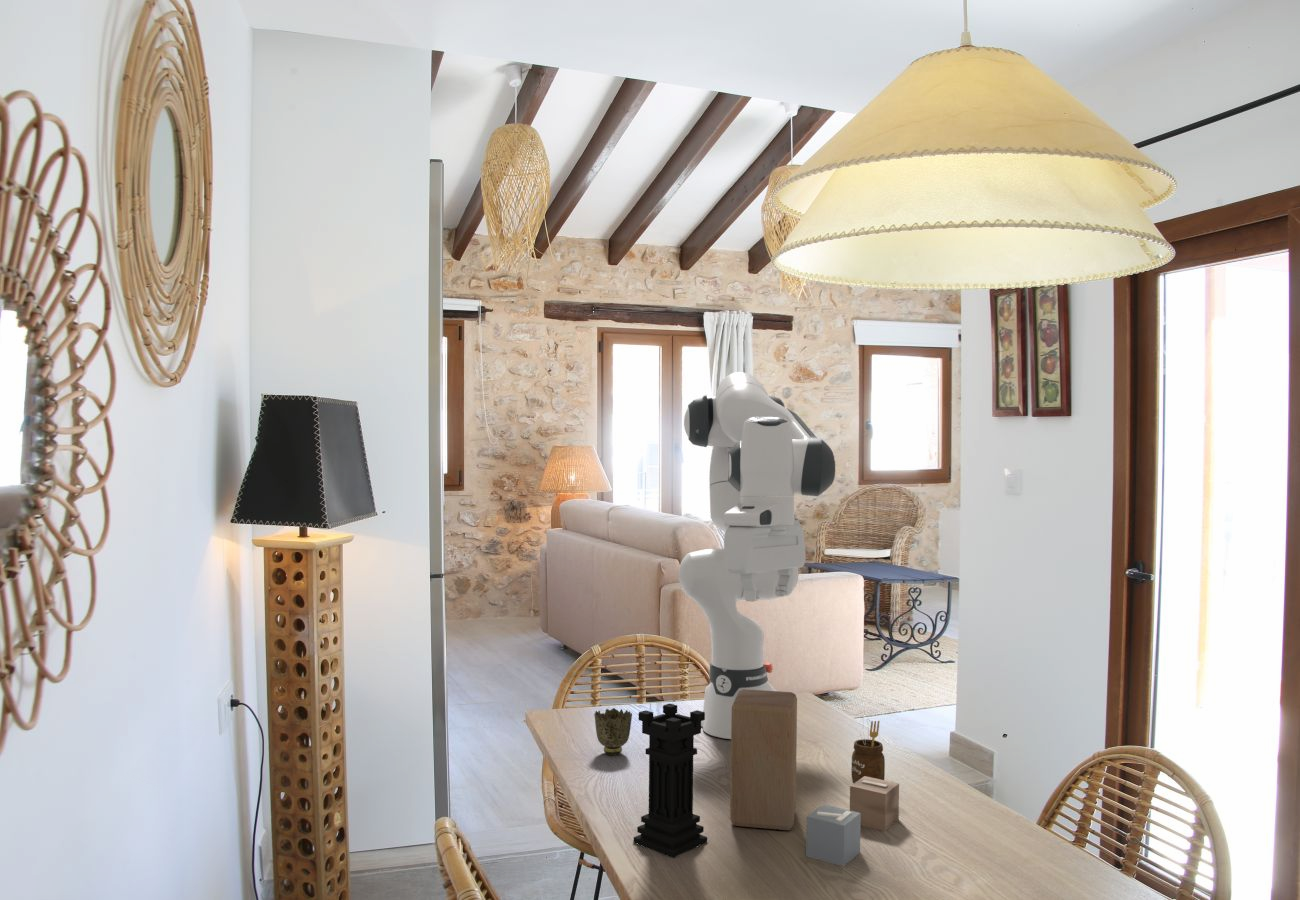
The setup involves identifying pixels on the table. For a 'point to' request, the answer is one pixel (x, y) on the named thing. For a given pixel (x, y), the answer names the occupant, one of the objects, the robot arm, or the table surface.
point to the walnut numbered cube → (875, 802)
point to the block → (763, 759)
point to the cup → (613, 729)
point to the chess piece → (671, 782)
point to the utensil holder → (868, 756)
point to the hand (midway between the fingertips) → (767, 598)
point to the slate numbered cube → (833, 834)
